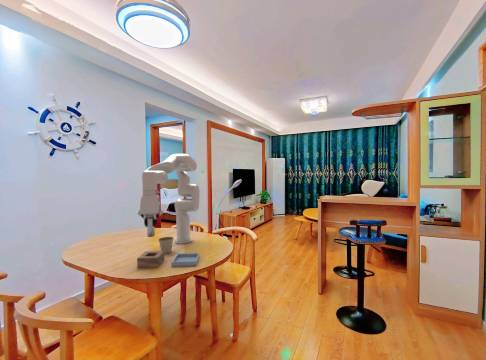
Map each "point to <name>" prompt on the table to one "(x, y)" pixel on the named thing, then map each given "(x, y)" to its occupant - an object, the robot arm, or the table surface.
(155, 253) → the socket block
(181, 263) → the tray
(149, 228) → the pin
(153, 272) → the table surface
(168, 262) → the table surface
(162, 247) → the flower pot
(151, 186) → the robot arm
